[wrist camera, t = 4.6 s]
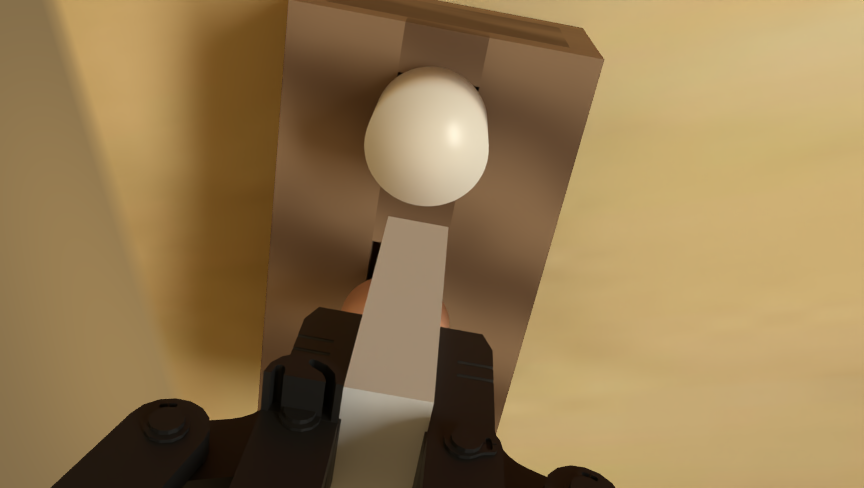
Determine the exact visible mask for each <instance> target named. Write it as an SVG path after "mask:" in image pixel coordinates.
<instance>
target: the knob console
mask: <svg viewBox="0 0 864 488" xmlns="http://www.w3.org/2000/svg"><path fill="white" fill-rule="evenodd" d="M603 62H604V59H603V57H602V56H601V54H600V53H599V51H598V50H597V48H596V47H595V45H594V44H593V43H592V41H591V40H590V38H589V37H588V35H587V34H586V32H585V31H584V29H583V28H579V27H573V26H568V25H563V24H558V23H553V22H547V21H542V20H537V19H532V18H527V17H521V16H516V15H511V14H506V13H500V12H495V11H490V10H485V9H480V8H474V7H469V6H464V5H459V4H454V3H448V2H443V1H438V0H288V14H287V27H286V40H285V54H284V67H283V80H282V93H281V107H280V120H279V133H278V147H277V160H276V173H275V187H274V200H273V213H272V226H271V240H270V253H269V266H268V280H267V293H266V306H265V320H264V333H263V346H262V360H261V373H260V386H259V399H258V411H259V410H261V398H262V386H263V373H264V370H265V369H266V368H267V366H268V365H269V364H270V363H271V362H272V361H274V360H276V359H278V358H280V357H282V356H286V355H290V354H291V351H292V350H293V346H294V343H295V341H296V338H297V337H298V333H299V331H300V328H301V326H302V323H303V320H304V318H306V317H307V316H308V315H309V314H311V313H312V312H313V311H314V310H316V309H317V308H318V307H323V308H329V309H335V310H340V311H341V309H342V306H343V304H344V301H345V300H346V298H347V296H348V295H349V294H350V293H351V291H352V290H354V289H355V288H356V287H357V286H358V285H360V284H361V283H363V282H365V281H367V280H370V279H372V277H373V273H374V269H375V265H376V262H377V258H378V254H379V250H380V246H381V243H382V239H383V235H384V231H385V227H386V224H387V220H388V216H390V217H396V218H401V219H407V220H412V221H418V222H423V223H429V224H434V225H440V226H445V227H448V239H447V251H446V263H445V275H444V287H443V299H442V301H443V303H444V305H445V307H446V309H447V312H448V315H449V328H450V329H456V330H461V331H467V332H473V333H478V334H483V336H484V337H485V339H486V341H487V342H488V344H489V345H490V347H491V349H492V350H493V377H494V381H493V383H494V408H495V432H497V429H498V425H499V422H500V418H501V415H502V411H503V408H504V405H505V401H506V398H507V394H508V391H509V387H510V384H511V380H512V377H513V373H514V370H515V366H516V363H517V360H518V356H519V353H520V349H521V346H522V342H523V339H524V335H525V332H526V328H527V325H528V322H529V318H530V315H531V311H532V308H533V304H534V301H535V297H536V294H537V290H538V287H539V283H540V280H541V277H542V273H543V270H544V266H545V263H546V259H547V256H548V252H549V249H550V245H551V242H552V239H553V235H554V232H555V228H556V225H557V221H558V218H559V214H560V211H561V207H562V204H563V201H564V197H565V194H566V190H567V187H568V183H569V180H570V176H571V173H572V169H573V166H574V162H575V159H576V156H577V152H578V149H579V145H580V142H581V138H582V135H583V131H584V128H585V124H586V121H587V118H588V114H589V111H590V107H591V104H592V100H593V97H594V93H595V90H596V86H597V83H598V79H599V76H600V73H601V69H602V66H603ZM419 67H441V68H445V69H449V70H451V71H454V72H456V73H458V74H459V75H461V76H463V77H464V78H465V79H467V80H468V81H469V82H470V83H471V84H472V85H473V86H474V87H475V88H476V90H477V91H478V93H479V94H480V96H481V98H482V100H483V102H484V105H485V108H486V113H487V123H488V143H489V153H488V160H487V164H486V167H485V170H484V172H483V174H482V176H481V178H480V179H479V181H478V182H477V183H476V185H475V186H474V187H473V188H472V189H471V190H470V191H469V192H468V193H466V194H465V195H463V196H462V197H460V198H458V199H457V200H455V201H452V202H450V203H447V204H443V205H438V206H418V205H413V204H409V203H406V202H403V201H401V200H399V199H397V198H395V197H393V196H392V195H390V194H389V193H388V192H386V191H385V190H384V189H383V188H382V187H381V186H380V185H379V184H378V183H377V181H376V180H375V179H374V177H373V176H372V174H371V172H370V170H369V168H368V165H367V162H366V158H365V151H364V141H365V134H366V130H367V127H368V124H369V122H370V119H371V117H372V115H373V112H374V110H375V108H376V105H377V103H378V100H379V98H380V96H381V94H382V92H383V91H384V90H385V88H386V87H387V86H388V85H389V84H390V82H391V81H393V80H394V79H395V78H396V77H398V76H399V75H401V74H403V73H404V72H407V71H409V70H412V69H415V68H419Z"/></svg>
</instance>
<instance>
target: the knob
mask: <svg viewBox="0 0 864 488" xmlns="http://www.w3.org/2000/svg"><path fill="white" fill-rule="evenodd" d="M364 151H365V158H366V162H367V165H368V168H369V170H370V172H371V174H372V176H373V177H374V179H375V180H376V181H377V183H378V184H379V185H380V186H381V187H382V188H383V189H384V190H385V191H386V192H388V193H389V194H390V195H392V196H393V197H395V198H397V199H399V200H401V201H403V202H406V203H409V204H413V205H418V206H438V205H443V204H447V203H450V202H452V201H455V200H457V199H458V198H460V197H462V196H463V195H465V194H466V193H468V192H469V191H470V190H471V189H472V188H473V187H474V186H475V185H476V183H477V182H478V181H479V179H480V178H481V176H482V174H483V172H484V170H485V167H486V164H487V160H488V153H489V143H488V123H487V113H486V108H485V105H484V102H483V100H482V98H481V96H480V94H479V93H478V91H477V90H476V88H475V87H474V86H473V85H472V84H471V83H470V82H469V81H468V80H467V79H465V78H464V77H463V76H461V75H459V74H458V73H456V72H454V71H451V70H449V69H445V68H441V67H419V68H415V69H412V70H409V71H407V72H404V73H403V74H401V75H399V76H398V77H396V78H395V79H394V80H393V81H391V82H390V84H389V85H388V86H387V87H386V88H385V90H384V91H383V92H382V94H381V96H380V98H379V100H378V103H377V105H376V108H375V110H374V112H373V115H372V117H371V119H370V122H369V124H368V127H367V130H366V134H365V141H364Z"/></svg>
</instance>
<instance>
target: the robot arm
mask: <svg viewBox="0 0 864 488" xmlns="http://www.w3.org/2000/svg"><path fill="white" fill-rule="evenodd" d="M447 239H448V227H445V226H440V225H434V224H429V223H423V222H418V221H412V220H407V219H401V218H396V217H390V216H388V220H387V224H386V227H385V231H384V235H383V239H382V243H381V246H380V250H379V254H378V258H377V262H376V265H375V269H374V273H373V277H372V281H371V284H370V288H369V292H368V296H367V300H366V303H365V307H364V311H363V314H357V313H351V312H346V311H340V310H335V309H329V308H323V307H318V308H317V309H316V310H314V311H313V312H312V313H311V314H309V315H308V316H307V317H306V318H304V320H303V323H302V326H301V328H300V331H299V333H298V337H297V338H296V341H295V343H294V346H293V350H292V351H291V354H290V355H286V356H282V357H280V358H278V359H276V360H274V361H272V362H271V363H270V364H269V365H268V366H267V368H266V369H265V370H264V373H263V386H262V398H261V410H259V411H257V412H255V413H253V414H250V415H247V416H244V417H240V418H234V419H224V420H209V417H208V415H207V414H206V412H205V411H204V409H203V408H201V407H200V406H198V405H196V404H194V403H193V402H191V401H186V400H181V399H160V400H156V401H153V402H150V403H147V404H144V405H142V406H141V407H139V408H138V409H136V410H135V411H133V412H132V413H130V414H129V415H128V416H127V417H126V418H125V419H124V420H123V421H122V422H121V423H120V424H119V425H118V426H116V427H115V428H114V429H113V430H112V431H111V432H110V433H109V434H108V435H107V436H106V437H105V438H104V439H103V440H101V441H100V442H99V443H98V444H97V445H96V446H95V447H94V448H93V449H92V450H91V451H90V452H89V453H87V454H86V455H85V456H84V457H83V458H82V459H81V460H80V461H79V462H78V463H77V464H76V465H75V466H74V467H72V469H70V470H69V471H68V472H67V473H66V474H65V475H64V476H63V477H62V478H61V479H60V480H59V481H58V482H56V483H55V484H54V485H53V486H52V487H51V488H615V486H614V485H613V484H612V483H611V482H610V481H608V480H607V479H606V478H604V477H603V476H602V475H600V474H599V473H596V472H594V471H592V470H589V469H587V468H584V467H577V466H565V467H559V468H557V469H555V470H554V471H553V472H551V473H550V474H548V477H546V476H543V475H541V474H539V473H536V472H534V471H532V470H530V469H528V468H526V467H524V466H522V465H520V464H518V463H517V462H515V461H514V460H513V459H512V458H510V457H509V456H508V455H507V454H506V453H505V451H504V450H503V449H502V445H501V442H500V440H499V439H498V437H497V436H496V432H495V408H494V383H493V381H494V377H493V350H492V349H491V347H490V345H489V344H488V342H487V341H486V339H485V337H484V336H483V334H478V333H473V332H467V331H461V330H456V329H450V328H445V327H440V323H441V311H442V299H443V287H444V275H445V263H446V251H447Z"/></svg>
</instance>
